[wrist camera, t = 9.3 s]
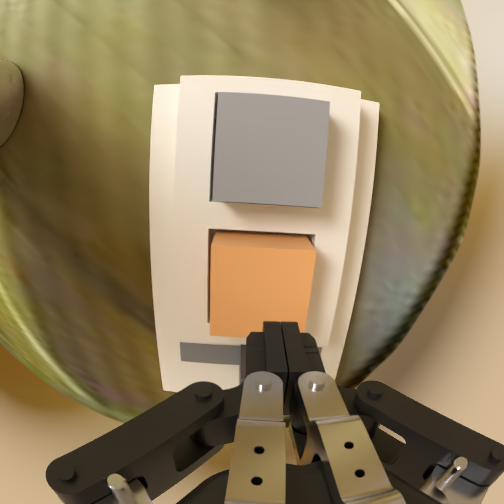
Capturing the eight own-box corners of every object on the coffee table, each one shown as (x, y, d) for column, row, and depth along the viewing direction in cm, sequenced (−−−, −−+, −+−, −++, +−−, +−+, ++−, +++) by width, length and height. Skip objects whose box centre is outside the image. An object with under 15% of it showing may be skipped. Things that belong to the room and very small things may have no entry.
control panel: (166, 380, 28) (158, 408, 24) (160, 88, 20) (143, 77, 16) (327, 385, 29) (335, 413, 25) (371, 105, 21) (394, 98, 17)
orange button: (214, 311, 22) (210, 335, 19) (215, 230, 21) (210, 245, 18) (296, 314, 23) (303, 338, 20) (306, 236, 21) (316, 250, 18)
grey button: (217, 193, 20) (212, 201, 17) (222, 101, 18) (218, 91, 15) (309, 199, 20) (321, 207, 17) (317, 108, 18) (329, 101, 15)
